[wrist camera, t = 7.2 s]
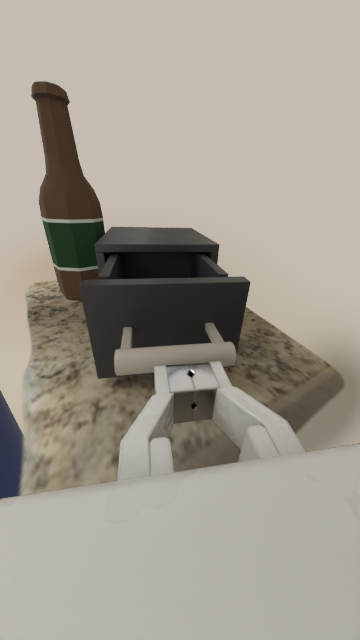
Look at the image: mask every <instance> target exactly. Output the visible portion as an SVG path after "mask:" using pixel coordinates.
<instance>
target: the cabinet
mask: <svg viewBox="0 0 360 640" xmlns="http://www.w3.org/2000/svg"><path fill="white" fill-rule="evenodd" d="M94 246H95V252H96V259H97V266H98V272H99V274H100V273H101V271H102V269H103V267H104V265H105V263H106V261H107V260H108V258H109V256H110V254H111V252H203V253H204V254H205V255H206V256H208V257H209V258H210V259H211V260H212V261H213V262H215V263H216V264H217V260H218V251H219V244H217V243H216V242H214V241H212V240H210V239H209V238H207V237H205V236H204V235H202V234H200V233H199V232H197V231H195V230H193V229H192V228H146V227H111V228H110V229H109V230H108V231H107V232H106V233H105V234H104V235H103V236H102V237H101V238H100V239H99V240H98V241H97V242H96V243H95V244H94Z"/></svg>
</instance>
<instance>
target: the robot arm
mask: <svg viewBox="0 0 360 640" xmlns="http://www.w3.org/2000/svg"><path fill="white" fill-rule="evenodd" d="M154 383H155V395H152V397H151V398H150V399H149V401H148V402H147V404H146V405H145V407H144V408H143V410H142V411H141V412H140V414H139V415H138V417H137V418H136V420H135V421H134V423H133V424H132V425H131V427H130V428H129V430H128V431H127V433H126V434H125V436H124V437H123V439H122V440H121V443H120V454H119V466H118V477H117V481H114V482H107V483H101V484H94V485H88V486H82V487H75V488H69V489H62V490H56V491H49V492H43V493H36V494H30V495H23V496H17V497H11V498H4V499H0V640H360V443H359V444H353V445H346V446H341V447H333V448H328V449H321V450H315V451H308V452H307V451H306V450H305V448H304V446H303V445H302V443H301V442H300V440H299V439H298V437H297V436H296V434H295V433H294V431H293V429H292V428H291V426H290V425H289V423H288V422H287V420H285V419H284V418H282V417H281V416H279V415H278V414H276V413H275V412H273V411H272V410H270V409H269V408H267V407H266V406H264V405H263V404H261V403H260V402H258V401H257V400H256V399H254V398H253V397H251V396H250V395H248V394H247V393H245V392H244V391H242V390H241V389H239V388H238V387H233V386H232V384H231V382H230V380H229V378H228V376H227V374H226V372H225V370H224V368H223V366H222V364H221V362H220V361H213V362H204V363H193V364H178V365H166V366H165V365H164V366H154ZM209 419H212V421H213V422H214V423H215V424H216V425H217V426H218V427H219V428H220V429H221V430H222V431H223V432H224V433H225V434H226V435H227V436H228V437H229V438H230V439H231V441H232V442H233V443H234V444H235V445H236V446H237V447H238V448H239V449H240V450H241V453H240V456H239V459H238V462H237V463H230V464H224V465H217V466H211V467H204V468H198V469H191V470H185V471H178V472H174V467H173V459H172V451H171V444H170V439H168V436H169V434H170V431H171V429H172V427H173V424H176V423H182V422H189V421H198V420H209Z"/></svg>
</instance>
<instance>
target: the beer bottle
mask: <svg viewBox="0 0 360 640" xmlns="http://www.w3.org/2000/svg"><path fill="white" fill-rule="evenodd" d="M32 97H33V99H34V100H35V101H36V104H37V110H38V117H39V123H40V129H41V135H42V142H43V147H44V154H45V162H46V175H45V178H44V180H43V183H42V185H41V187H40V196H39V204H40V210H41V216H42V220H43V224H44V228H45V232H46V236H47V240H48V244H49V248H50V252H51V256H52V260H53V264H54V268H55V272H56V276H57V280H58V283H59V286H60V290H61V292H62V293H63V294H64V295H65V296H66V297H67V299H74V300H82V296H81V291H80V287H79V286H80V285H81V283H82V282H83V280H99V278H98V276H99V272H98V266H97V259H96V252H95V246H94V244H95V243H96V242H97V241H98V240H99V239H100V238H101V237H102V236H103V235H104V234H105V232H104V224H103V216H102V212H101V207H100V203H99V200H98V198H97V196H96V194H95V192H94V190H93V188H92V187H91V185H90V184H89V183H88V181H87V180H86V179H85V177H84V176H83V173H82V169H81V166H80V163H79V159H78V155H77V150H76V145H75V141H74V135H73V131H72V126H71V121H70V117H69V112H68V107H67V105H68V104H69V99H68V96H67V94H66V91H64V90H63V89H62V88H61V87H59V86H58V85H56V84H53V83H49V82H34V84H33V85H32Z"/></svg>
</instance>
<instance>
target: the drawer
mask: <svg viewBox="0 0 360 640" xmlns="http://www.w3.org/2000/svg"><path fill="white" fill-rule="evenodd" d="M98 278H99V280H83V282H82V283H81V285H80V286H79V287H80V291H81V296H82V301H83V306H84V311H85V316H86V321H87V326H88V331H89V336H90V341H91V346H92V351H93V356H94V360H95V365H96V370H97V375H98V379H100V378H112V377H123V376H135V375H147V374H154V366H164V365H165V366H166V365H178V364H193V363H204V362H213V361H220V362H221V364H222V366H223V368H228V367H234V365H235V363H236V353H237V348H238V343H239V338H240V333H241V328H242V322H243V317H244V312H245V307H246V302H247V296H248V292H249V286H250V281H249V280H247V279H246V278H245V277H228V274H227V273H226V272H225V271H224V270H223V269H221V268H220V267H219V266H218V265H217V264H216V263H215V262H213V261H212V260H211V259H210V258H209V257H208V256H206V255H205V254H204V253H203V252H111V254H110V256H109V258H108V260H107V261H106V263H105V265H104V267H103V269H102V271H101V273H100V274H99V276H98Z"/></svg>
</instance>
